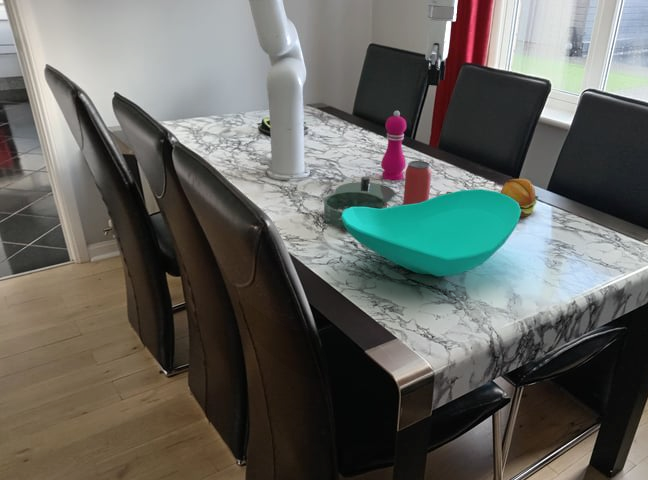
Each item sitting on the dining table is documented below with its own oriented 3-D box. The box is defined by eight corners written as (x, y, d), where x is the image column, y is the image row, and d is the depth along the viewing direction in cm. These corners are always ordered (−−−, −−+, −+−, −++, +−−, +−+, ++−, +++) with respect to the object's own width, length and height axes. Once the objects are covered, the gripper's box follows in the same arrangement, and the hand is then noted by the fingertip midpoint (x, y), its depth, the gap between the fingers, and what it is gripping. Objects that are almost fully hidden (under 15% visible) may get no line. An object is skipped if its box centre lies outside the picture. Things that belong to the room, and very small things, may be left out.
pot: (311, 230, 137) (311, 212, 134) (337, 200, 154) (338, 184, 152) (374, 239, 134) (375, 222, 132) (393, 208, 152) (394, 192, 149)
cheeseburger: (536, 206, 158) (543, 175, 151) (530, 229, 151) (537, 197, 144) (500, 200, 160) (504, 169, 154) (492, 222, 153) (497, 190, 146)
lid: (327, 201, 153) (327, 183, 151) (345, 182, 167) (345, 165, 165) (386, 210, 150) (388, 191, 148) (400, 189, 164) (401, 172, 162)
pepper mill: (402, 183, 169) (407, 114, 159) (378, 181, 170) (381, 112, 160) (406, 176, 175) (411, 109, 166) (383, 173, 176) (386, 106, 167)
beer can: (410, 214, 149) (414, 169, 143) (398, 205, 154) (401, 161, 148) (432, 210, 152) (436, 166, 146) (419, 202, 157) (423, 159, 151)
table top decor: (465, 228, 143) (472, 176, 136) (542, 277, 122) (554, 219, 115) (317, 256, 125) (316, 198, 118) (377, 318, 104) (381, 252, 98)
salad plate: (292, 122, 225) (292, 110, 223) (321, 132, 214) (321, 120, 212) (250, 129, 213) (249, 116, 211) (278, 140, 202) (278, 127, 200)
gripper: (433, 10, 158) (427, 76, 167) (422, 14, 144) (416, 86, 152) (460, 13, 157) (453, 78, 165) (451, 17, 142) (444, 89, 151)
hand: (435, 82), depth 159 cm, fingers open, 9 cm apart
